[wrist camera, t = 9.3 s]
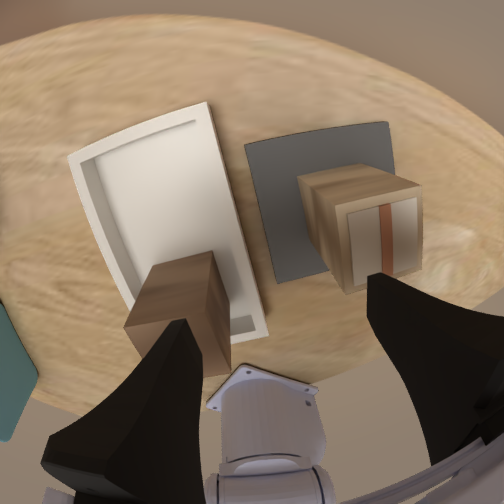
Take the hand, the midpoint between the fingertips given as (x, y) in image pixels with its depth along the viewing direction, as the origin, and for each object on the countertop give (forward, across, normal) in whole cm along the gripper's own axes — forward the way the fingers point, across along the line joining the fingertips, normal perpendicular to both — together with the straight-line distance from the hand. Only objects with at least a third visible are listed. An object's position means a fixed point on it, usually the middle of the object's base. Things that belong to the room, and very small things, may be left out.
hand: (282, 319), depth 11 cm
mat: (+10, -5, -1) cm, 11 cm away
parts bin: (+10, +6, -1) cm, 11 cm away
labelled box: (+9, -6, -1) cm, 11 cm away
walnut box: (+9, +6, +3) cm, 11 cm away
